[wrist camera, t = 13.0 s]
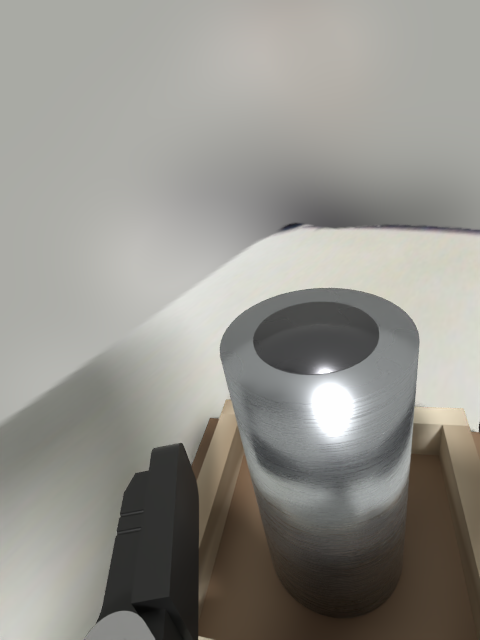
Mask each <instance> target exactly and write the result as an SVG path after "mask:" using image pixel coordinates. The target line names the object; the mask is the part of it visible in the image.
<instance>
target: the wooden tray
mask: <svg viewBox="0 0 480 640" xmlns="http://www.w3.org/2000/svg"><path fill="white" fill-rule="evenodd" d="M191 467H192V470H193V473H194V475H195V478H196V482H197V486H198V493H199V614H198V640H480V433H479V432H471V431H470V427H469V424H468V421H467V418H466V414H465V411H464V409H463V408H436V407H414V420H413V433H412V447H411V460H410V473H409V486H408V499H407V513H406V526H405V539H404V552H403V564H402V572H401V576H400V580H399V582H398V584H397V587H396V589H395V590H394V592H393V593H392V595H391V596H390V597H389V598H388V600H387V601H386V602H385V603H384V604H382V605H381V606H380V607H379V608H377V609H376V610H374V611H372V612H370V613H368V614H365V615H362V616H359V617H354V618H332V617H328V616H324V615H320V614H318V613H316V612H313V611H311V610H309V609H308V608H306V607H304V606H303V605H301V604H300V603H299V602H298V601H296V600H295V599H294V598H293V597H292V596H291V595H290V594H289V593H288V592H287V590H286V589H285V588H284V586H283V585H282V583H281V582H280V580H279V578H278V576H277V574H276V572H275V569H274V566H273V563H272V559H271V555H270V551H269V547H268V543H267V539H266V535H265V532H264V528H263V524H262V520H261V516H260V512H259V508H258V504H257V500H256V496H255V492H254V488H253V484H252V480H251V476H250V472H249V468H248V464H247V460H246V456H245V452H244V448H243V444H242V440H241V437H240V433H239V429H238V425H237V421H236V417H235V413H234V409H233V405H232V401H231V400H226V401H225V404H224V407H223V410H222V412H221V415H220V418H219V419H215V418H210V420H209V422H208V425H207V427H206V430H205V433H204V435H203V438H202V440H201V443H200V445H199V448H198V451H197V453H196V456H195V458H194V461H193V464H192V466H191Z"/></svg>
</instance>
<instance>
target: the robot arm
mask: <svg viewBox="0 0 480 640" xmlns="http://www.w3.org/2000/svg"><path fill="white" fill-rule="evenodd" d="M479 433H480V424H479ZM120 515H121V517H120V518H119V523H118V528H117V536H116V538H115V544H114V549H113V554H112V559H111V565H110V570H109V575H108V581H107V586H106V591H105V596H104V602H103V606H102V610H101V613H100V616H99V618H98V620H97V622H96V624H95V626H94V627H93V628H92V629H91V630H90V631H89V633H88V634H87V635H86V637H85V639H84V640H198V614H199V493H198V486H197V482H196V478H195V475H194V473H193V470H192V467H191V464H190V462H189V459H188V456H187V454H186V451H185V448H184V446H183V444H182V443H178V444H173V445H168V446H162V447H157V448H154V449H153V450H152V453H151V459H150V467H149V471H144V472H139V473H135V475H134V477H133V478H132V480H131V482H130V483H129V485H128V487H127V489H126V490H125V492H124V496H123V501H122V507H121V512H120Z"/></svg>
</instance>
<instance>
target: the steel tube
mask: <svg viewBox="0 0 480 640" xmlns="http://www.w3.org/2000/svg"><path fill="white" fill-rule="evenodd" d="M418 354H419V333H418V330H417V328H416V325H415V324H414V322H413V320H412V319H411V318H410V317H409V316H408V314H407V313H406V312H404V311H403V310H402V309H401V308H400V307H398V306H397V305H395V304H393V303H392V302H390V301H388V300H386V299H383V298H381V297H378V296H376V295H373V294H369V293H365V292H361V291H356V290H350V289H340V288H316V289H306V290H299V291H294V292H289V293H285V294H281V295H278V296H275V297H272V298H269V299H267V300H264V301H262V302H260V303H258V304H256V305H254V306H252V307H251V308H249V309H248V310H246V311H244V312H243V313H242V314H241V315H239V316H238V317H237V318H236V319H235V320H234V321H233V322H232V323H231V324H230V326H229V327H228V328H227V330H226V331H225V333H224V335H223V337H222V340H221V344H220V357H221V361H222V365H223V369H224V373H225V377H226V381H227V385H228V389H229V393H230V397H231V401H232V405H233V409H234V413H235V417H236V421H237V425H238V429H239V433H240V437H241V440H242V444H243V448H244V452H245V456H246V460H247V464H248V468H249V472H250V476H251V480H252V484H253V488H254V492H255V496H256V500H257V504H258V508H259V512H260V516H261V520H262V524H263V528H264V532H265V535H266V539H267V543H268V547H269V551H270V555H271V559H272V563H273V566H274V569H275V572H276V574H277V576H278V578H279V580H280V582H281V583H282V585H283V586H284V588H285V589H286V590H287V592H288V593H289V594H290V595H291V596H292V597H293V598H294V599H295V600H296V601H298V602H299V603H300V604H301V605H303V606H304V607H306V608H308V609H309V610H311V611H313V612H316V613H318V614H320V615H324V616H328V617H332V618H354V617H359V616H362V615H365V614H368V613H370V612H372V611H374V610H376V609H377V608H379V607H380V606H381V605H382V604H384V603H385V602H386V601H387V600H388V598H389V597H390V596H391V595H392V593H393V592H394V590H395V589H396V587H397V584H398V582H399V580H400V576H401V572H402V564H403V552H404V539H405V526H406V513H407V499H408V486H409V473H410V460H411V447H412V433H413V420H414V407H415V394H416V381H417V368H418Z"/></svg>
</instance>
